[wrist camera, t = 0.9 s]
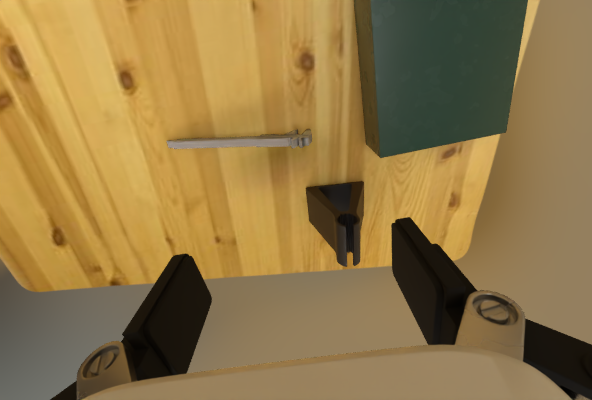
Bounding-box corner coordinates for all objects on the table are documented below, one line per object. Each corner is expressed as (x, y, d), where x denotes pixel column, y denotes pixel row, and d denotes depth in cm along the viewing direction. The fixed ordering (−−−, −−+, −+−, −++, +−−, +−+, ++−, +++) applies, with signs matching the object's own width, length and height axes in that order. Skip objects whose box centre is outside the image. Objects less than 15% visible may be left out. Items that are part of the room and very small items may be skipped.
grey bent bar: (310, 127, 35) (313, 138, 30) (310, 135, 36) (313, 147, 30) (167, 140, 36) (144, 152, 30) (170, 147, 36) (147, 161, 31)
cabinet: (353, -6, 28) (368, -26, 23) (486, -41, 27) (540, -72, 21) (366, 144, 36) (380, 158, 30) (470, 122, 35) (506, 132, 29)
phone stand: (363, 181, 39) (389, 222, 28) (362, 214, 42) (386, 263, 31) (305, 187, 39) (310, 229, 29) (308, 219, 42) (314, 269, 31)
